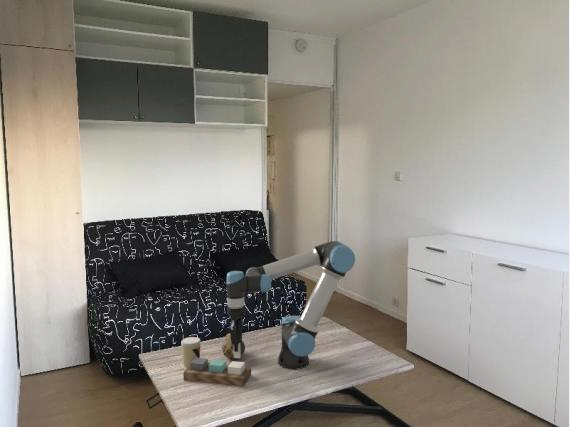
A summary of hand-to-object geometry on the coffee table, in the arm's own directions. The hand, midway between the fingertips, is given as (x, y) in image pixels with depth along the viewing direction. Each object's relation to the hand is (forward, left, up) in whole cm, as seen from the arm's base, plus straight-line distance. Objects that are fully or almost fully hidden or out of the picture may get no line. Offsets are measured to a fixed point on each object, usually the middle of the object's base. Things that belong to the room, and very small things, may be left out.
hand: (237, 357), depth 211 cm
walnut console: (+9, 0, -10) cm, 14 cm away
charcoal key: (+18, 0, -8) cm, 20 cm away
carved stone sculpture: (+9, -22, -11) cm, 26 cm away
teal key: (+9, 0, -8) cm, 13 cm away
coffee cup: (+27, -11, -11) cm, 31 cm away
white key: (0, 0, -8) cm, 8 cm away
